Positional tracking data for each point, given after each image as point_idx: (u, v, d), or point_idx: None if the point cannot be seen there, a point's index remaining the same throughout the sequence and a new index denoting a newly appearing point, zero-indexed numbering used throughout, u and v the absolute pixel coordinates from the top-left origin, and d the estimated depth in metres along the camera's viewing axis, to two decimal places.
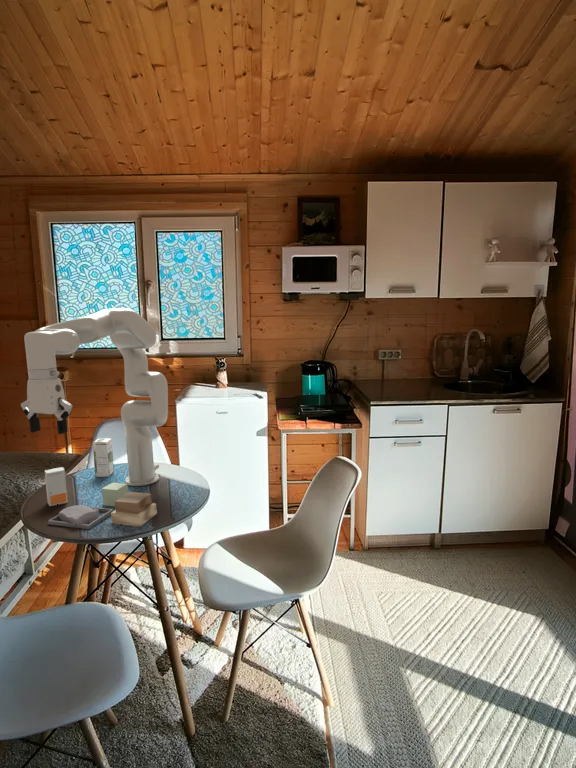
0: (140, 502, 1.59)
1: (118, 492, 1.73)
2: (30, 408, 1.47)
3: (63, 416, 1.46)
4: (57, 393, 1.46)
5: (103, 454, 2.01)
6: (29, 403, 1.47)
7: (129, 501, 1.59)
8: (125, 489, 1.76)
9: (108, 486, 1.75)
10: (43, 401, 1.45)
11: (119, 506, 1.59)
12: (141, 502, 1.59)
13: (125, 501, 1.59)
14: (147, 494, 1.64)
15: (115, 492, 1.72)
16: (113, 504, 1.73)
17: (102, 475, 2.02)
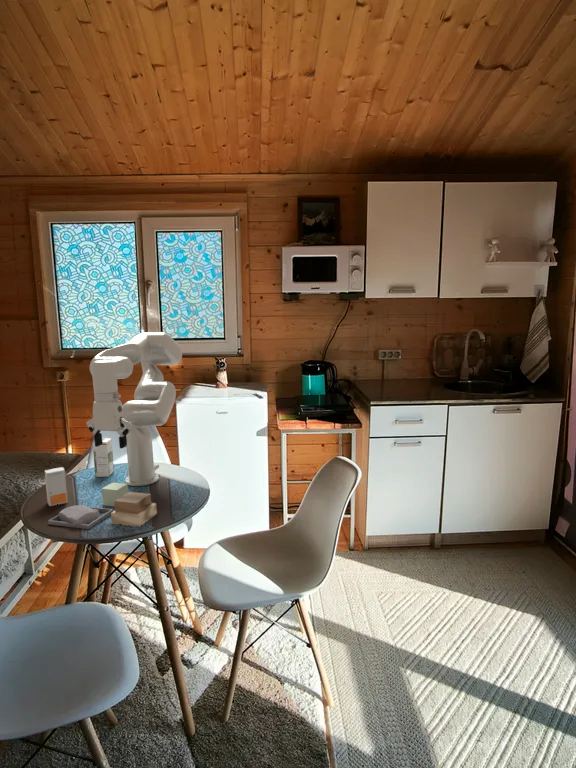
0: (139, 502, 1.59)
1: (118, 492, 1.73)
2: (95, 426, 1.71)
3: (124, 433, 1.69)
4: (119, 413, 1.69)
5: (103, 454, 2.01)
6: (94, 421, 1.71)
7: (129, 501, 1.59)
8: (125, 489, 1.76)
9: (108, 486, 1.75)
10: (107, 420, 1.69)
11: (119, 505, 1.59)
12: (141, 502, 1.59)
13: (125, 501, 1.59)
14: (147, 494, 1.64)
15: (115, 492, 1.72)
16: (113, 504, 1.73)
17: (102, 475, 2.02)
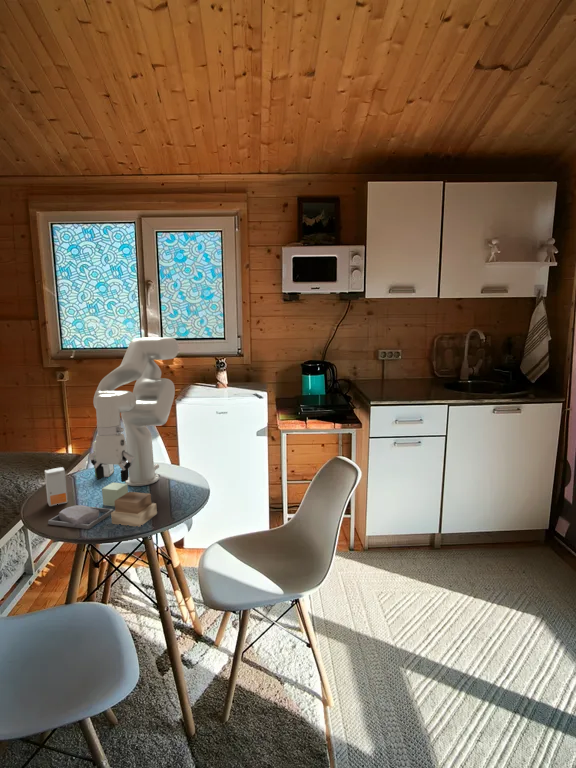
0: (139, 502, 1.59)
1: (119, 492, 1.73)
2: (97, 459, 1.72)
3: (126, 466, 1.71)
4: (121, 447, 1.70)
5: None
6: (97, 455, 1.72)
7: (129, 501, 1.59)
8: (125, 489, 1.76)
9: (108, 486, 1.75)
10: (110, 454, 1.70)
11: (119, 505, 1.59)
12: (141, 502, 1.60)
13: (125, 501, 1.59)
14: (147, 494, 1.64)
15: (115, 492, 1.72)
16: (113, 504, 1.73)
17: None
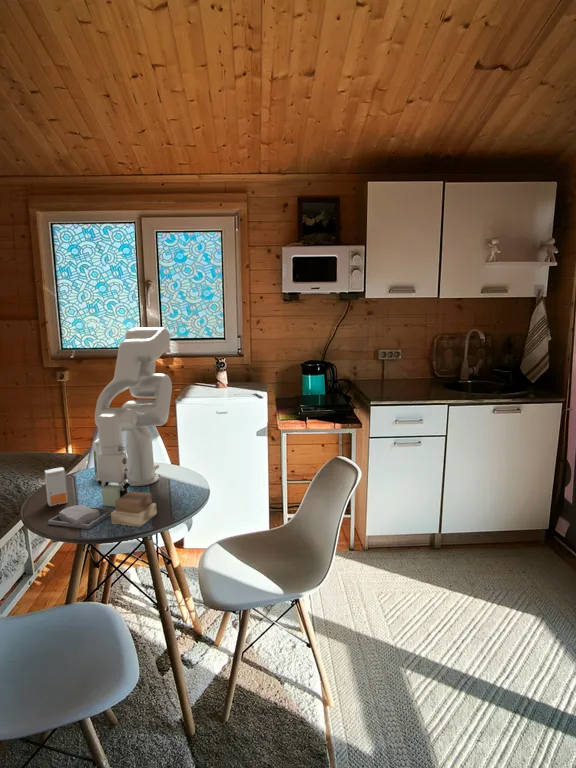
0: (140, 502, 1.59)
1: (118, 492, 1.73)
2: (100, 477, 1.74)
3: (125, 487, 1.73)
4: (124, 465, 1.72)
5: None
6: (99, 473, 1.74)
7: (129, 501, 1.59)
8: None
9: (108, 486, 1.75)
10: (112, 472, 1.72)
11: (120, 505, 1.59)
12: (142, 502, 1.60)
13: (126, 501, 1.59)
14: (147, 494, 1.64)
15: (115, 492, 1.72)
16: (113, 504, 1.73)
17: None
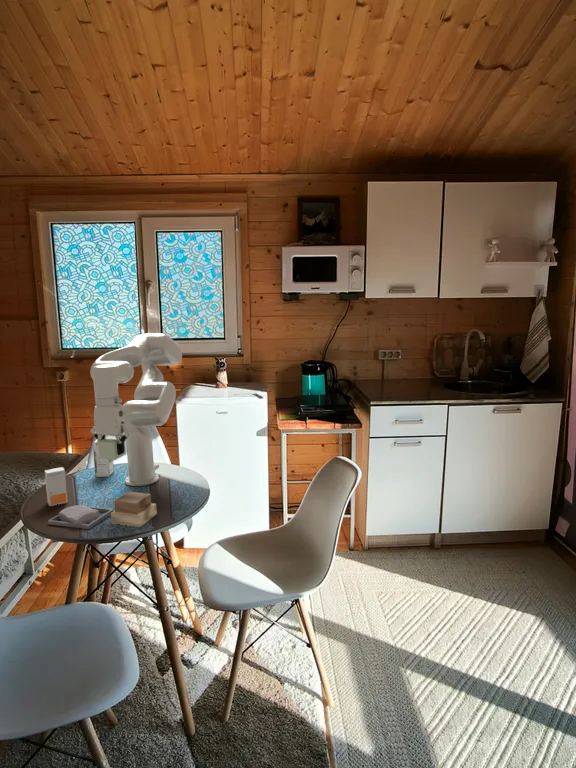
0: (139, 503, 1.58)
1: (115, 445, 1.71)
2: (96, 430, 1.72)
3: (122, 440, 1.71)
4: (120, 418, 1.70)
5: None
6: (96, 426, 1.71)
7: (128, 501, 1.58)
8: None
9: (105, 439, 1.73)
10: (109, 425, 1.69)
11: (119, 506, 1.59)
12: (141, 503, 1.59)
13: (125, 501, 1.58)
14: (147, 494, 1.64)
15: (112, 445, 1.70)
16: (110, 457, 1.71)
17: (102, 475, 2.02)
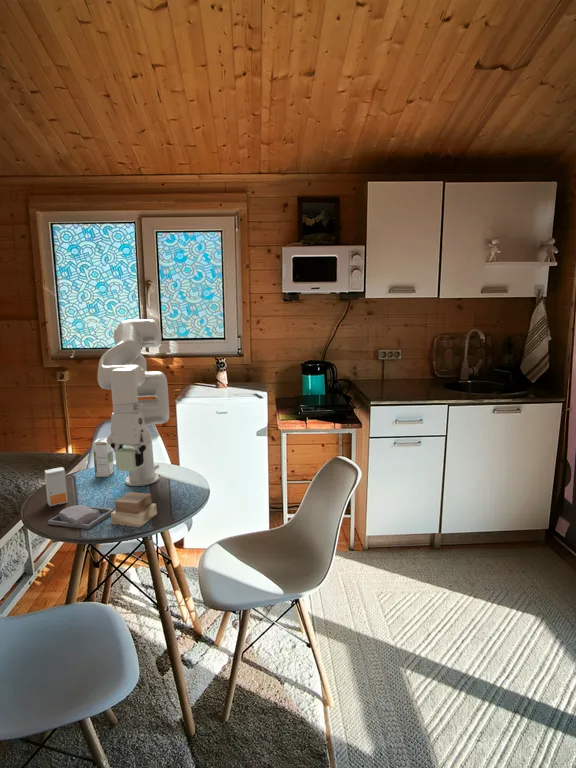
0: (140, 503, 1.58)
1: (134, 455, 1.56)
2: (113, 439, 1.58)
3: (141, 450, 1.57)
4: (140, 426, 1.56)
5: (103, 454, 2.01)
6: (113, 435, 1.57)
7: (129, 501, 1.58)
8: None
9: (122, 449, 1.59)
10: (127, 433, 1.55)
11: (119, 506, 1.59)
12: (141, 503, 1.59)
13: (125, 501, 1.58)
14: (147, 494, 1.64)
15: (130, 455, 1.56)
16: (127, 468, 1.57)
17: (102, 475, 2.02)
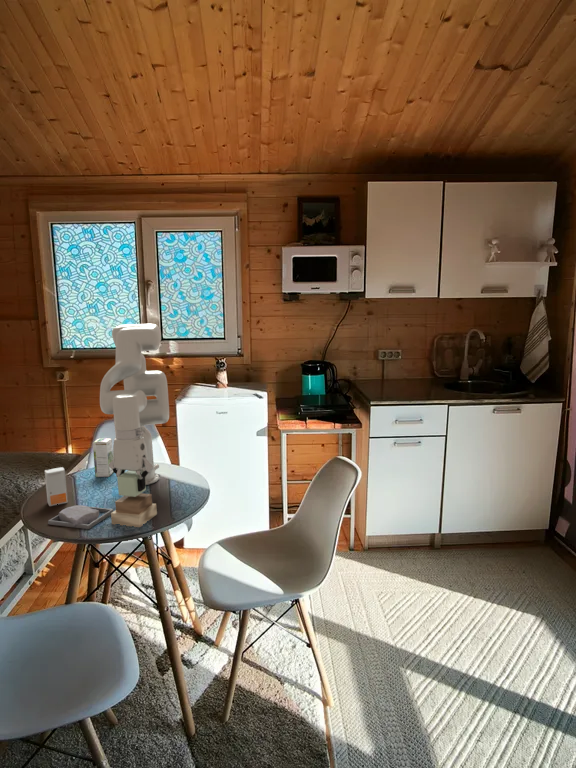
0: (140, 503, 1.58)
1: (136, 481, 1.58)
2: (116, 465, 1.59)
3: (143, 475, 1.58)
4: (142, 451, 1.57)
5: (103, 454, 2.01)
6: (115, 460, 1.59)
7: (129, 501, 1.58)
8: None
9: (124, 474, 1.60)
10: (129, 459, 1.57)
11: (120, 506, 1.58)
12: (142, 503, 1.59)
13: (126, 502, 1.58)
14: (147, 495, 1.63)
15: (132, 480, 1.57)
16: (130, 494, 1.58)
17: (102, 475, 2.02)
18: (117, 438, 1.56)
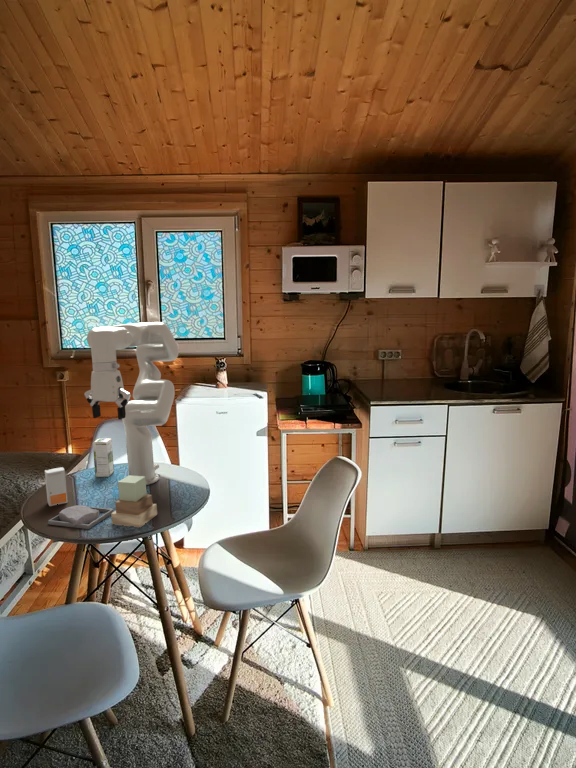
0: (140, 504, 1.58)
1: (136, 486, 1.58)
2: (93, 396, 1.68)
3: (123, 403, 1.67)
4: (118, 383, 1.66)
5: (103, 454, 2.01)
6: (93, 392, 1.68)
7: (129, 502, 1.58)
8: (143, 482, 1.62)
9: (125, 479, 1.61)
10: (106, 390, 1.66)
11: (120, 507, 1.58)
12: (142, 504, 1.59)
13: (126, 502, 1.58)
14: (148, 495, 1.63)
15: (133, 485, 1.58)
16: (130, 498, 1.59)
17: (102, 475, 2.02)
18: (94, 370, 1.65)
